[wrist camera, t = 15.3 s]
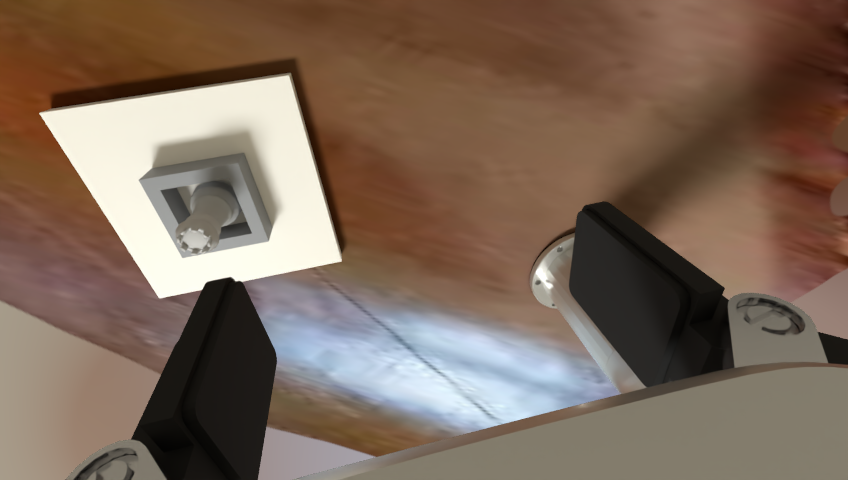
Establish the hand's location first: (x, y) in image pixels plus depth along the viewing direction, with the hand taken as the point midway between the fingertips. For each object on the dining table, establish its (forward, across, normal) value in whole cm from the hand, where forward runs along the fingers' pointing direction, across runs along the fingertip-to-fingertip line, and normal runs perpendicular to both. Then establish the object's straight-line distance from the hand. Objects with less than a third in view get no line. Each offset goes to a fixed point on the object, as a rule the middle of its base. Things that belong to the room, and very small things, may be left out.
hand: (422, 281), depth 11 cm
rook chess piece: (+29, +16, +8) cm, 34 cm away
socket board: (+30, +16, +8) cm, 35 cm away
